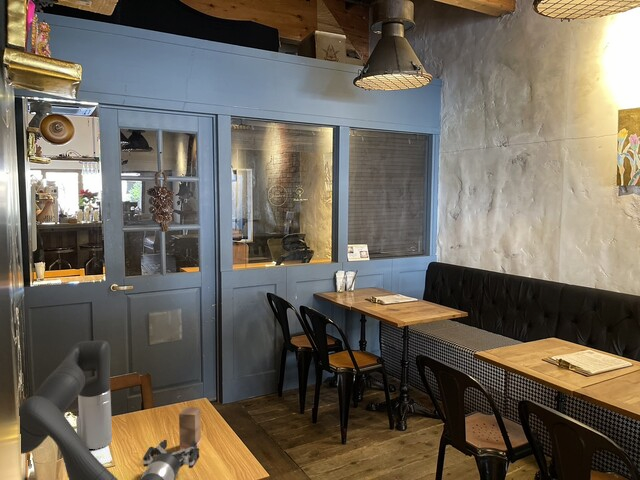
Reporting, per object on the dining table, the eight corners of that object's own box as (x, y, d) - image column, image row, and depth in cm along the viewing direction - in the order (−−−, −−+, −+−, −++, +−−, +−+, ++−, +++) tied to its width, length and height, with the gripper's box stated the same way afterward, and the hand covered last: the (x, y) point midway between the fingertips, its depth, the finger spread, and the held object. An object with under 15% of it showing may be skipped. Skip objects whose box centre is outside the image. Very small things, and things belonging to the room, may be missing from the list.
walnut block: (184, 407, 153) (185, 443, 155) (178, 414, 148) (179, 451, 150) (200, 407, 153) (200, 443, 154) (194, 414, 148) (195, 452, 149)
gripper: (132, 488, 126) (156, 454, 142) (186, 490, 125) (204, 456, 141) (131, 461, 125) (155, 430, 141) (186, 462, 124) (204, 431, 141)
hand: (180, 443), depth 141 cm, fingers open, 8 cm apart
